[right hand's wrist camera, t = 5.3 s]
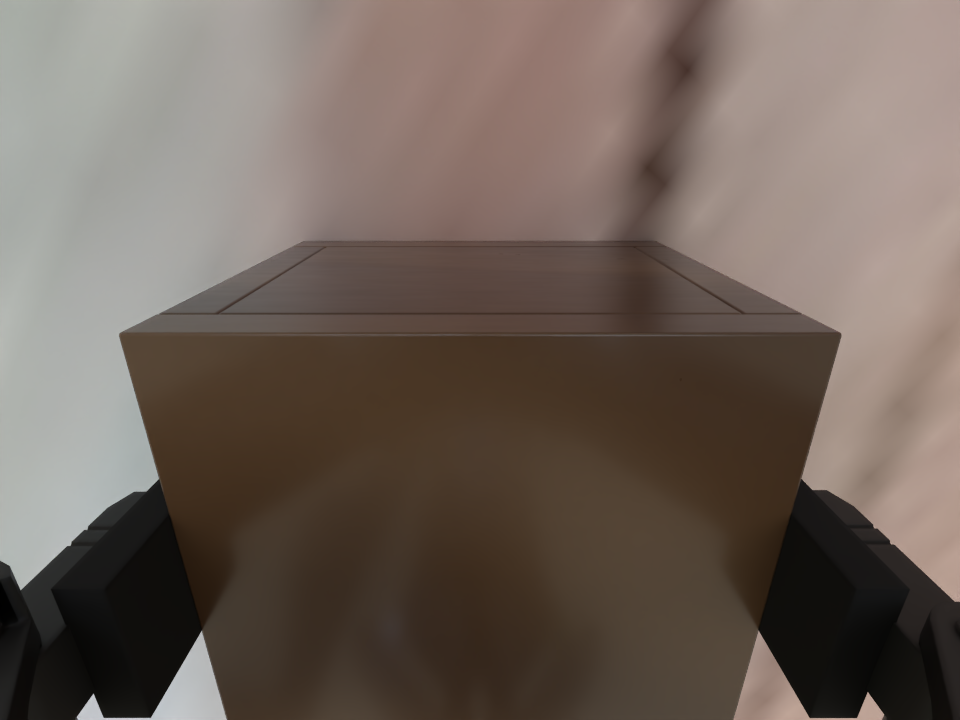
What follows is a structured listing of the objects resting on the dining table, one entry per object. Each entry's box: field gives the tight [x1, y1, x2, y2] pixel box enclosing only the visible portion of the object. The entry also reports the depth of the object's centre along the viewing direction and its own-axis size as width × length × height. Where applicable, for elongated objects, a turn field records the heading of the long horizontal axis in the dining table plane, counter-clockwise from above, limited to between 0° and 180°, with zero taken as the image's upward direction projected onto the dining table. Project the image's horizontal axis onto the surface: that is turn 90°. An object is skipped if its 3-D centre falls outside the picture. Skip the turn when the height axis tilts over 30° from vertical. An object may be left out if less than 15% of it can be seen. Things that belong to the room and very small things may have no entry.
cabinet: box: [119, 241, 841, 720], centre depth 14 cm, size 16×10×8 cm, turn 0°
